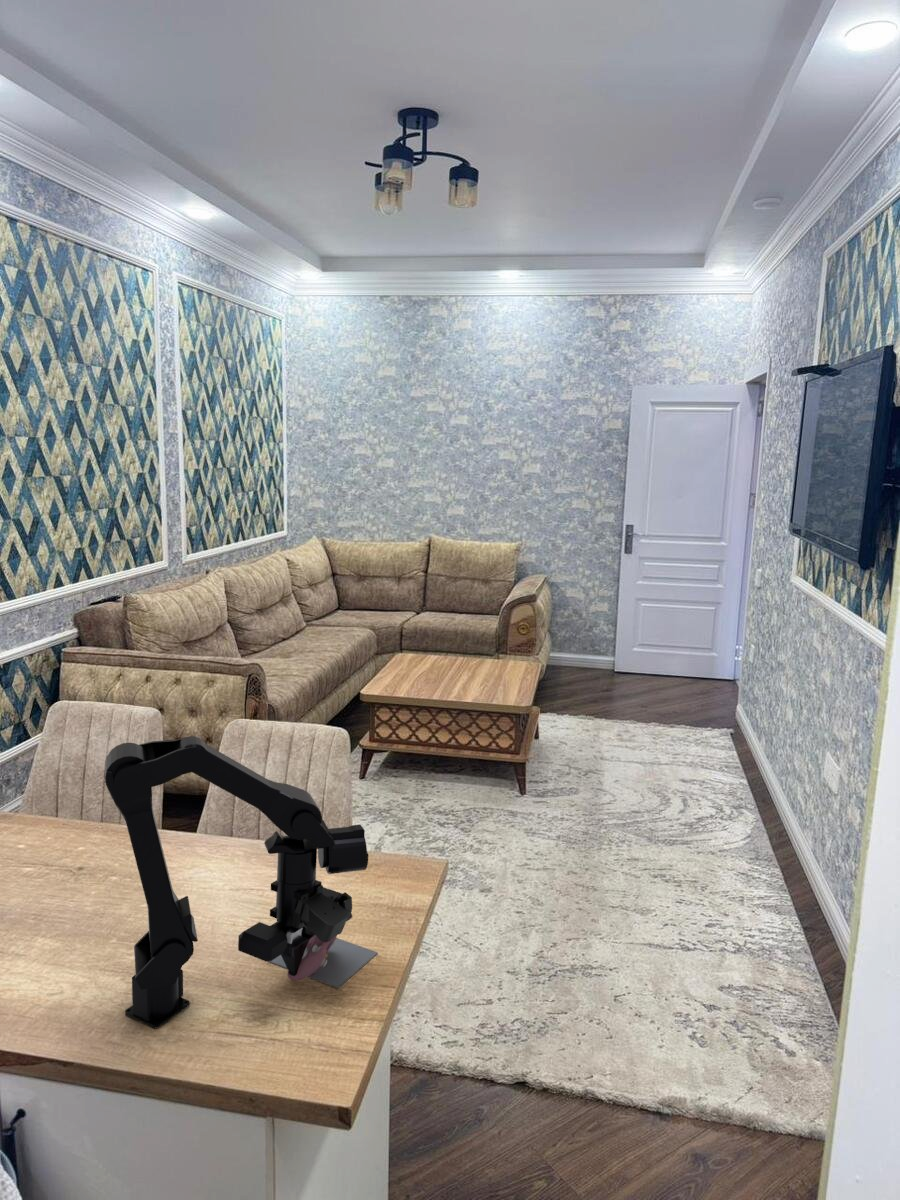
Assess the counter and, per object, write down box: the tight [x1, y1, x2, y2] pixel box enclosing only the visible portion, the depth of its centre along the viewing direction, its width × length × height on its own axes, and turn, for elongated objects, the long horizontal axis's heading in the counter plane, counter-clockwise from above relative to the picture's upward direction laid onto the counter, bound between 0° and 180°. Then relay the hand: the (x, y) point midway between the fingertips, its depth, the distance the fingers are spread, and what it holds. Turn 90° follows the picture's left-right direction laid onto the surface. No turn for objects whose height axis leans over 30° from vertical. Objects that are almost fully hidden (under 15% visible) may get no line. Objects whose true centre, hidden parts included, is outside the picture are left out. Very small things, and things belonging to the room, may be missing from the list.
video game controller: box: [287, 935, 338, 982], centre depth 132 cm, size 10×5×7 cm, turn 170°
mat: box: [266, 937, 379, 989], centre depth 136 cm, size 11×14×1 cm
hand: (293, 974), depth 128 cm, fingers closed
